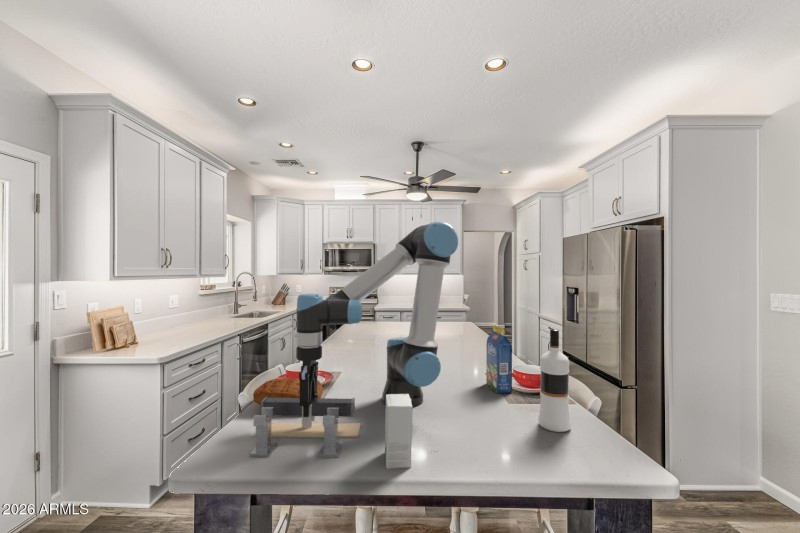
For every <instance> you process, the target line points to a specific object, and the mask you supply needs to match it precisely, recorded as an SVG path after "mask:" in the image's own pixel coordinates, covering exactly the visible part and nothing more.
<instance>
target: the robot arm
mask: <svg viewBox="0 0 800 533" xmlns="http://www.w3.org/2000/svg"><path fill="white" fill-rule="evenodd" d="M458 246H459V236H458V233H457V232H456V230H455V228H454V227H453V226H452V225H451V224H449V223H448V222H444V221H433V222H430V223H428V224H425V225H420V226H418V227H416V228H414V229H413V230H412V231H411V232H409V233H408V234H407V235H406V236H405V237H403V238H402V239H401V240H400V241H399V242H397V243H396V244H395V246H394V248H393V250H391V251H390V252H388V253H387V254H386V255H385V256H383V257H382V258H381V259H379V260H378V261H376V263H374V264H373V265H371V266H370V267H368V268H367V269H366V270H364V271H363V272H362V273H361V274H360V275H358V276H357V277H356V278H354V279H353V280H352V281H350V282H349V283H347V285H345V286H344V287H343V288H340V290H338V291H337V292H336V293H335V294H334V295H330V296H328V297H326V298H325V299H324V297H323V295H322V294H321V293H302V294H299V295H298V296H297V298H296V301H297V302H296V334H294V337H295V338H296V345H297V346H296V347H295V348H296V351H295V352H296V355H295V356H296V357H295V359H297V360H298V361H301V362H302V365H301V366H300V372H299V373H298V378H299V380H300V403H299V406H302V416H301V423H302V427H312V423H313V422H315V421H316V416H312V404H311V398H318V395H316V394H317V380H318V372H319V371H318V370H319V369H318V368H319V361H318V360H321V359H322V357H323V346H322V344H323V326H328V325H329V326H331V325H333V326H334V325H353V324H359V323H361V321H362V317H363V306H362V301H363V300H364V299H367V297H368V296H370V295H371V294H372V293H373V292H375V291H376V290H377V289H379V288H380V287H382V285H384V284H385V283H387V282H388V281H389V280H390V279H391V278H393V277H394V276H395V275H396V274H398V273H399V272H400V271H402V270H403V269H404V268H406V267H407V266H413V265H414V264H416V263H417V264H418V270H417V278H416V283H415V291H414V297H413V305H412V311H411V318H410V326H409V332H408V333H409V334H408V336H405V337H394V338H393V337H392V338H389V339H388V340H387V343H386V344H387V345H386V381H385V384H384V387H383V391H382V394H381V401H382V403H383V404H384V405H386V394H409V397H410V399H411V403H412V406H413V408H414V407H419V406H420V405H421V404H422V403H423V402H424V393H423V390H422V387H423V388H424V387H428V386H430V385H432V383H434V382H435V381H436V380H437V379H438V377H439V376H440V373H441V371H442V370H441V361H440V359H439V357H438V348H439V346H438V344H437V342H436V340H435V336H436V329H437V321H438V315H439V314H438V313H439V309H440V308H439V307H440V300H441V294H442V287H443V280H444V279H443V278H444V272H445V269H446V268H447V267H448V266H449V265H450V262H451V255H453V254H454V253H456V251H457V249H458Z"/></svg>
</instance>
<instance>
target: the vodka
mask: <svg viewBox="0 0 800 533" xmlns="http://www.w3.org/2000/svg"><path fill="white" fill-rule="evenodd" d="M539 364H540V365H539V366H540V367H539V369H540V392H539V395H540V405H539V406H540V409H539V414H538V419H537V420H538V424H539V425H540V427H542V428H543V429H545V430H547V431H549V432H550V431H551V432H553V433H565V432H567V431H569V430H570V429H571V427H572V421H571V418H570V417H571V416H570V406H569V404H570V395H569V394H570V393H569V391H570V390H569V388H570V385H569V383H570V378H569V377H570V375H569V373H570V360H569V358H568V357H567V355H565V354H564V353H562V352H561V351H560V330H558V329H555V328H554V329H553V328H552V329H550V330H549V350H547V351H546V352H545V353H543V354H542V355H541V356H540V359H539Z"/></svg>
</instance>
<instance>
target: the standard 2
mask: <svg viewBox="0 0 800 533" xmlns="http://www.w3.org/2000/svg"><path fill="white" fill-rule="evenodd" d="M338 420H339V408H327V416H322V423H323V426H324V437H323V445H322V447H321V449H320V450H319V453H318V458H339V456H340V454H341V450H342V448H343V443H342V442H339V437H338V424H339V421H338Z"/></svg>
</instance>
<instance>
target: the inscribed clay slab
mask: <svg viewBox="0 0 800 533" xmlns="http://www.w3.org/2000/svg"><path fill="white" fill-rule="evenodd" d="M323 392H324V387H323V384H322V382H320V380H319V379H317V394H316V395H318V398H321V397H322V395H323ZM252 395H253V402H254V403H255V404H257V405H260V406H261V401H262V400H263V399H264V398H265V397H268V398H300V380H299V377H298V378H297V377H296V378H292V377H283V378H282V377H280V378H279V377H278V378H273V379H270V380H267V381H265V382H263V383H262V384H261V385H259V386H258V387H257V388H256V389H255V390H254V391H253V394H252Z"/></svg>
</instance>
